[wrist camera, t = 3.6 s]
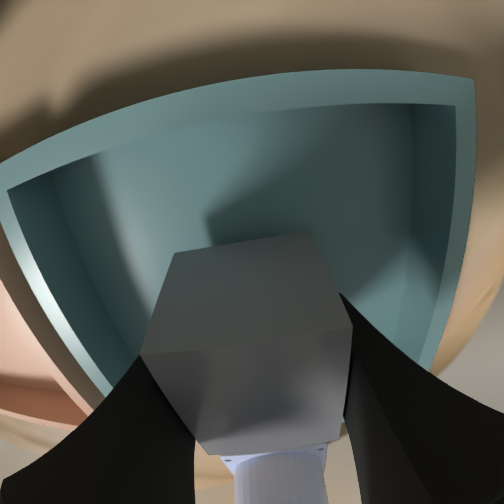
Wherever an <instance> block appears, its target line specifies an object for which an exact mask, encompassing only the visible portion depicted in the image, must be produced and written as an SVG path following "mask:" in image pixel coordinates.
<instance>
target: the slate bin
mask: <svg viewBox="0 0 504 504" xmlns="http://www.w3.org/2000/svg"><path fill="white" fill-rule="evenodd" d="M475 167H476V100H475V86H474V79H470V78H464V77H458V76H451V75H444V74H436V73H427V72H417V71H404V70H384V69H334V70H314V71H300V72H289V73H280V74H271V75H263V76H256V77H249V78H243V79H237V80H231V81H226V82H220V83H215V84H210V85H205V86H201V87H196V88H192V89H188V90H184V91H180V92H176V93H172V94H168V95H164V96H161V97H157V98H154V99H150V100H147V101H144V102H140V103H137V104H134V105H131V106H128V107H125V108H122V109H119V110H116V111H113V112H110V113H108V114H105V115H102V116H99V117H97V118H94V119H92V120H89V121H87V122H84V123H82V124H79V125H77V126H74V127H72V128H70V129H67V130H65V131H63V132H61V133H58V134H56V135H54V136H52V137H50V138H48V139H45V140H43V141H41V142H39V143H37V144H35V145H33V146H31V147H29V148H27V149H26V150H24V151H22V152H20V153H18V154H16V155H14V156H12V157H11V158H9V159H7V160H5V161H4V162H2V163H0V222H1V224H2V227H3V229H4V232H5V234H6V237H7V239H8V241H9V244H10V246H11V248H12V250H13V253H14V255H15V257H16V259H17V261H18V263H19V265H20V267H21V269H22V271H23V273H24V275H25V277H26V279H27V281H28V283H29V285H30V287H31V289H32V291H33V293H34V294H35V296H36V298H37V300H38V301H39V303H40V305H41V307H42V308H43V310H44V312H45V313H46V315H47V317H48V318H49V320H50V322H51V323H52V325H53V326H54V328H55V330H56V331H57V333H58V334H59V336H60V337H61V339H62V340H63V342H64V343H65V345H66V346H67V348H68V349H69V351H70V352H71V353H72V355H73V356H74V358H75V359H76V360H77V362H78V363H79V365H80V366H81V367H82V369H83V370H84V371H85V373H86V374H87V375H88V376H89V378H90V379H91V380H92V382H93V383H94V384H95V385H96V387H97V388H98V389H99V390H100V392H101V393H102V394H103V395H104V396H105V398H106V397H107V395H108V394H109V393H110V392H111V391H112V389H113V388H114V387H115V386H116V384H117V383H118V382H119V381H120V379H121V378H122V377H123V376H124V374H125V373H126V372H127V371H128V369H129V368H130V366H131V365H132V364H133V362H134V361H135V360H136V358H137V357H138V356H139V354H140V351H141V347H142V344H143V341H144V338H145V335H146V332H147V329H148V326H149V323H150V320H151V317H152V314H153V311H154V308H155V305H156V302H157V299H158V296H159V293H160V290H161V288H162V285H163V282H164V279H165V276H166V274H167V271H168V268H169V266H170V263H171V260H172V258H173V255H174V253H176V252H182V251H188V250H194V249H200V248H206V247H212V246H218V245H224V244H230V243H236V242H242V241H249V240H255V239H261V238H267V237H273V236H280V235H286V234H292V233H299V232H305V231H310V232H311V234H312V236H313V239H314V241H315V243H316V245H317V247H318V249H319V251H320V253H321V255H322V258H323V260H324V262H325V264H326V266H327V268H328V271H329V273H330V275H331V277H332V279H333V282H334V284H335V286H336V288H337V291H338V293H341V294H342V295H344V296H345V298H346V299H347V300H348V301H349V302H350V303H351V304H352V305H353V306H354V307H355V308H356V309H357V310H358V311H359V312H360V313H361V314H362V315H363V316H364V317H365V318H366V319H367V320H368V321H369V322H370V323H371V324H372V325H373V326H374V327H375V328H376V329H377V330H379V331H380V332H381V333H382V334H383V335H384V336H385V337H386V338H387V339H388V340H389V341H391V342H392V343H393V344H394V345H395V346H396V347H397V348H399V349H400V350H401V351H402V352H404V353H405V354H406V355H407V356H408V357H410V358H411V359H412V360H413V361H415V362H416V363H417V364H419V365H420V366H421V367H423V368H424V369H425V370H427V371H428V372H429V370H430V367H431V365H432V362H433V359H434V357H435V354H436V352H437V349H438V346H439V343H440V340H441V338H442V335H443V332H444V329H445V326H446V323H447V319H448V316H449V313H450V310H451V306H452V303H453V299H454V295H455V292H456V288H457V284H458V280H459V276H460V271H461V267H462V262H463V258H464V253H465V248H466V242H467V237H468V231H469V224H470V217H471V210H472V202H473V192H474V181H475ZM342 422H345V421H344V418H343V417H342Z"/></svg>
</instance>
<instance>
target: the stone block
mask: <svg viewBox="0 0 504 504" xmlns="http://www.w3.org/2000/svg"><path fill="white" fill-rule="evenodd" d="M352 330H353V325H352V323H351V320H350V318H349V316H348V313H347V311H346V309H345V306H344V304H343V302H342V300H341V297H340V295H339V293H338V291H337V288H336V286H335V284H334V282H333V279H332V277H331V275H330V273H329V271H328V268H327V266H326V264H325V262H324V260H323V258H322V255H321V253H320V251H319V249H318V247H317V245H316V243H315V241H314V239H313V236H312V234H311V232H310V231H305V232H299V233H292V234H286V235H280V236H273V237H267V238H261V239H255V240H249V241H242V242H236V243H230V244H224V245H218V246H212V247H206V248H200V249H194V250H188V251H182V252H176V253H174V255H173V258H172V260H171V263H170V266H169V268H168V271H167V274H166V276H165V279H164V282H163V285H162V288H161V290H160V293H159V296H158V299H157V302H156V305H155V308H154V311H153V314H152V317H151V320H150V323H149V326H148V329H147V332H146V335H145V338H144V341H143V344H142V347H141V351H140V356H141V358H142V359H143V361H144V363H145V364H146V366H147V368H148V369H149V371H150V373H151V374H152V376H153V377H154V379H155V381H156V382H157V384H158V385H159V387H160V388H161V390H162V392H163V393H164V395H165V396H166V398H167V399H168V401H169V402H170V404H171V405H172V407H173V408H174V409H175V411H176V412H177V414H178V415H179V417H180V418H181V419H182V421H183V422H184V424H185V425H186V426H187V428H188V429H189V431H190V432H191V433H192V435H193V436H194V437H195V439H196V440H197V441H198V442H199V444H200V445H201V446H202V448H203V449H204V450H205V451H206V453H207V454H208V455H227V454H244V453H256V452H266V451H275V450H283V449H290V448H297V447H303V446H309V445H314V444H320V443H325V442H330V441H335V440H339V435H340V429H341V423H342V417H343V410H344V404H345V396H346V389H347V381H348V372H349V363H350V353H351V342H352Z"/></svg>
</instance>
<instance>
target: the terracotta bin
mask: <svg viewBox="0 0 504 504" xmlns="http://www.w3.org/2000/svg"><path fill="white" fill-rule="evenodd" d="M104 399H105V396H104V395H103V394H102V393H101V392H100V390H99V389H98V388H97V387H96V385H95V384H94V383H93V382H92V380H91V379H90V378H89V376H88V375H87V374H86V373H85V371H84V370H83V369H82V367H81V366H80V365H79V363H78V362H77V360H76V359H75V358H74V356H73V355H72V353H71V352H70V351H69V349H68V348H67V346H66V345H65V343H64V342H63V340H62V339H61V337H60V336H59V334H58V333H57V331H56V330H55V328H54V326H53V325H52V323H51V322H50V320H49V318H48V317H47V315H46V313H45V312H44V310H43V308H42V307H41V305H40V303H39V301H38V300H37V298H36V296H35V294H34V293H33V291H32V289H31V287H30V285H29V283H28V281H27V279H26V277H25V275H24V273H23V271H22V269H21V267H20V265H19V263H18V261H17V259H16V257H15V255H14V253H13V250H12V248H11V246H10V244H9V241H8V239H7V237H6V234H5V232H4V229H3V227H2V224H1V222H0V414H4V415H7V416H10V417H14V418H17V419H21V420H25V421H29V422H33V423H37V424H41V425H45V426H50V427H55V428H60V429H65V430H70V431H73V430H74V429H76V428H77V427H78V426H79V425H80V424H81V423H82V422H83V421H84V420H85V419H86V418H87V417H88V416H89V415H90V414H91V413H92V412H93V411H94V410H95V409H96V408H97V407H98V406H99V405H100V403H101V402H102V401H103V400H104Z"/></svg>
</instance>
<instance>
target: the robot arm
mask: <svg viewBox="0 0 504 504" xmlns="http://www.w3.org/2000/svg"><path fill="white" fill-rule="evenodd" d="M339 295H340V297H341V300H342V302H343V304H344V306H345V309H346V311H347V313H348V316H349V318H350V320H351V323H352V325H353V330H352V342H351V353H350V363H349V372H348V381H347V389H346V396H345V404H344V410H343V418H344V421H345V424H346V427H347V430H348V434H349V437H350V441H351V445H352V450H353V455H354V460H355V465H356V470H357V476H358V482H359V488H360V494H361V501H362V504H504V413H501V412H499V411H497V410H494V409H492V408H490V407H488V406H486V405H483V404H481V403H479V402H478V401H476V400H474V399H472V398H470V397H469V396H467V395H465V394H463V393H461V392H459V391H458V390H456V389H454V388H452V387H451V386H449V385H448V384H446V383H445V382H443V381H441V380H440V379H438V378H437V377H435V376H434V375H433V374H431V373H430V372H428V371H427V370H425V369H424V368H423V367H421V366H420V365H419V364H417V363H416V362H415V361H413V360H412V359H411V358H410V357H408V356H407V355H406V354H405V353H404V352H402V351H401V350H400V349H399V348H397V347H396V346H395V345H394V344H393V343H392V342H391V341H389V340H388V339H387V338H386V337H385V336H384V335H383V334H382V333H381V332H380V331H379V330H377V329H376V328H375V327H374V326H373V325H372V324H371V323H370V322H369V321H368V320H367V319H366V318H365V317H364V316H363V315H362V314H361V313H360V312H359V311H358V310H357V309H356V308H355V307H354V306H353V305H352V304H351V303H350V302H349V301H348V300H347V299H346V298H345V296H344V295H342V294H341V293H339ZM195 441H196V439H195V437H194V436H193V435H192V433H191V432H190V431H189V429H188V428H187V426H186V425H185V424H184V422H183V421H182V419H181V418H180V417H179V415H178V414H177V412H176V411H175V409H174V408H173V407H172V405H171V404H170V402H169V401H168V399H167V398H166V396H165V395H164V393H163V392H162V390H161V388H160V387H159V385H158V384H157V382H156V381H155V379H154V377H153V376H152V374H151V373H150V371H149V369H148V368H147V366H146V364H145V363H144V361H143V359H142V358H141V356H140V354H139V356H138V357H137V358H136V360H135V361H134V362H133V364H132V365H131V366H130V368H129V369H128V371H127V372H126V373H125V374H124V376H123V377H122V378H121V379H120V381H119V382H118V383H117V384H116V386H115V387H114V388H113V389H112V391H111V392H110V393H109V394H108V395H107V397H106V398H105V399H104V400H103V401H102V402H101V403H100V405H99V406H98V407H97V408H96V409H95V410H94V411H93V412H92V413H91V414H90V415H89V416H88V417H87V418H86V419H85V420H84V421H83V422H82V423H81V424H80V425H79V426H78V427H77V428H76V429H74V430H73V431H72V432H71V433H70V434H69V435H68V436H67V437H66V438H64V439H63V440H62V441H61V442H60V443H59V444H57V445H56V446H55V447H54V448H52V449H51V450H50V451H48V452H47V453H46V454H44V455H43V456H41V457H40V458H39V459H37V460H36V461H34V462H33V463H31V464H30V465H28V466H26V467H25V468H23V469H21V470H20V471H18V472H16V473H14V474H13V475H11V476H9V477H7V478H5V479H4V480H3V482H2V485H1V489H0V504H195V489H194V450H195ZM326 453H327V442H325V443H320V444H314V445H309V446H303V447H297V448H290V449H283V450H275V451H266V452H256V453H244V454H227V455H220V458H221V460H222V461H223V462H224V464H225V465H226V466H227V467H228V469H229V470H230V471H231V473H232V474H233V475H234V479H235V504H329V503H328V497H327V491H326V485H325V479H324V470H325V462H326Z"/></svg>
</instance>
